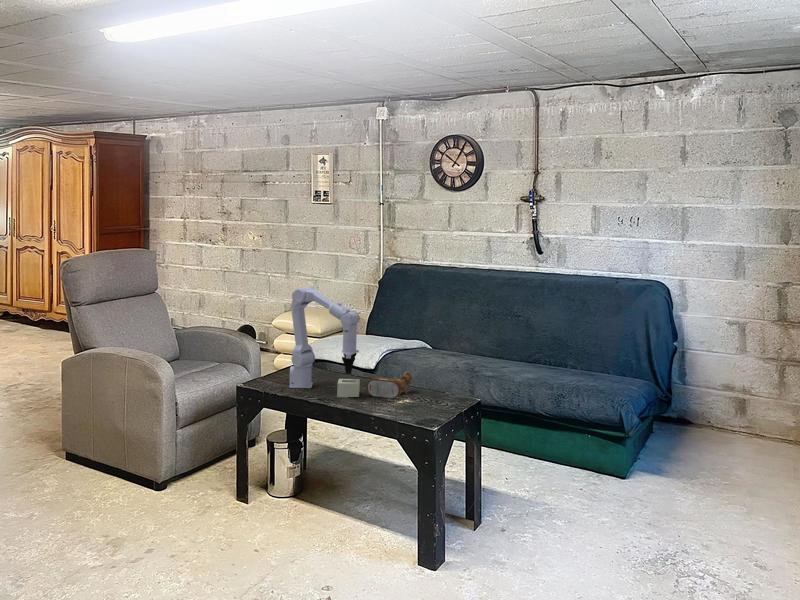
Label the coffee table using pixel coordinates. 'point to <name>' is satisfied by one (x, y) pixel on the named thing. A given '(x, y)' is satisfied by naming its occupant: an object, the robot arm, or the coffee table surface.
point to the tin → (384, 388)
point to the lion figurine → (405, 381)
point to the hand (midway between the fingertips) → (348, 371)
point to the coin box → (348, 388)
